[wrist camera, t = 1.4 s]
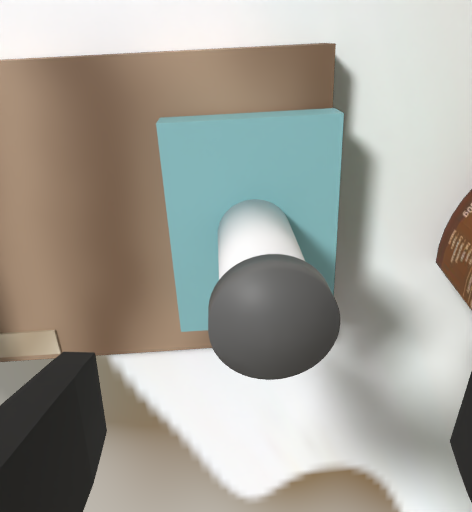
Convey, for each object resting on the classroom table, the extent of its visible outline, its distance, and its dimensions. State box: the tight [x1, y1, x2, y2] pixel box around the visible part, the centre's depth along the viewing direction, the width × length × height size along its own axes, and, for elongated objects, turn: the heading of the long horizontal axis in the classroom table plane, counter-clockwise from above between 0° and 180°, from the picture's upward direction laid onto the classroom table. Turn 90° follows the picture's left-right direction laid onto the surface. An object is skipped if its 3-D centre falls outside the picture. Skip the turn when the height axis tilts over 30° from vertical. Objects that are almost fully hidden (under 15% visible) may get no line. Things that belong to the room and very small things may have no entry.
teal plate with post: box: [156, 108, 344, 380], centre depth 14 cm, size 6×8×7 cm
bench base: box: [0, 43, 336, 362], centre depth 16 cm, size 18×12×6 cm, turn 93°
